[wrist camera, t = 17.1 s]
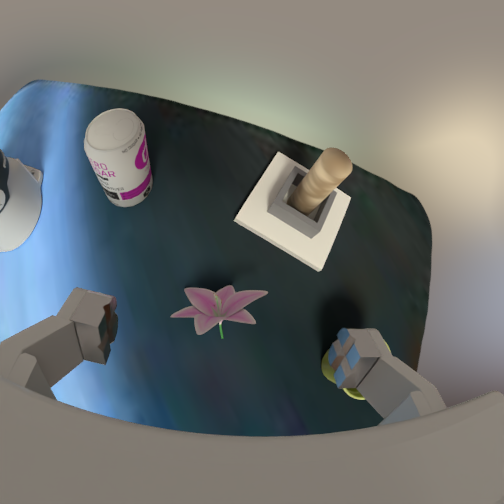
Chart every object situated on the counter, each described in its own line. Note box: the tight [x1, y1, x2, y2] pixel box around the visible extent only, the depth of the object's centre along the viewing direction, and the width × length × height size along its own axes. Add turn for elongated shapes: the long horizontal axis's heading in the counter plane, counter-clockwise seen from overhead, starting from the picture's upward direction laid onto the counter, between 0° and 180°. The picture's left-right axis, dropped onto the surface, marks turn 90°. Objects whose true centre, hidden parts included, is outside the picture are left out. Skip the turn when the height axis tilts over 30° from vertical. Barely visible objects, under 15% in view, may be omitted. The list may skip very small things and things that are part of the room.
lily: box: [170, 285, 268, 339], centre depth 37 cm, size 12×12×10 cm
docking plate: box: [234, 152, 351, 272], centre depth 46 cm, size 16×16×5 cm
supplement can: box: [84, 108, 153, 207], centre depth 35 cm, size 8×8×15 cm
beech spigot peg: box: [287, 148, 352, 216], centre depth 40 cm, size 4×4×14 cm
